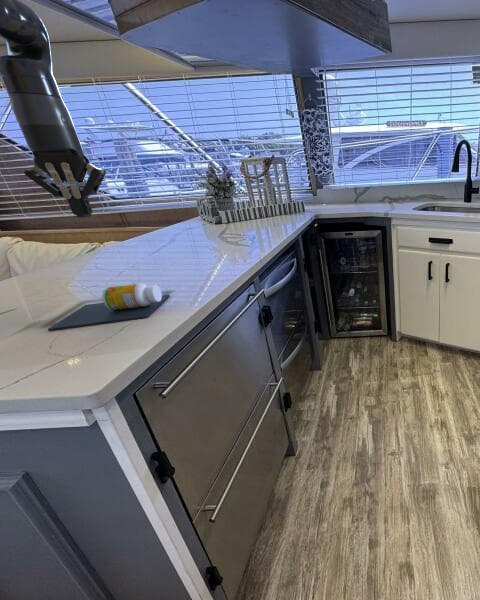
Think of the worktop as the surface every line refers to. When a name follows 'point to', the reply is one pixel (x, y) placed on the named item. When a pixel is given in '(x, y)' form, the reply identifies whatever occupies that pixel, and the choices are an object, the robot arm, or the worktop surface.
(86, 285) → the worktop surface
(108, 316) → the rubber mat
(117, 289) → the supplement bottle
